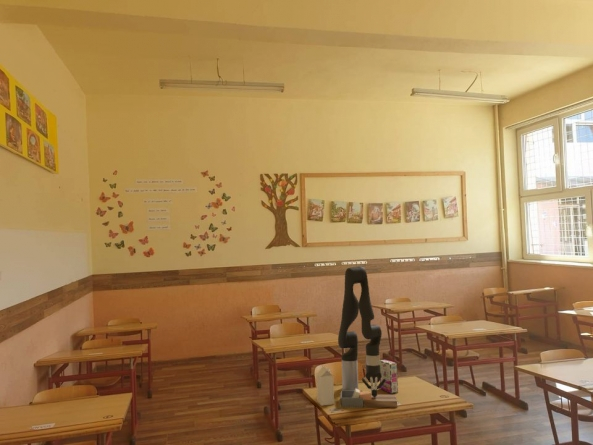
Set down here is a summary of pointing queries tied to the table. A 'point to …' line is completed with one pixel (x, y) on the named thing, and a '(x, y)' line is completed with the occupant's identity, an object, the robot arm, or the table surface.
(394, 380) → the candy bar box
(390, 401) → the grey brown tray
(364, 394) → the tile terracotta
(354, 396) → the tile cream
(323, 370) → the milk carton
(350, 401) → the tray
